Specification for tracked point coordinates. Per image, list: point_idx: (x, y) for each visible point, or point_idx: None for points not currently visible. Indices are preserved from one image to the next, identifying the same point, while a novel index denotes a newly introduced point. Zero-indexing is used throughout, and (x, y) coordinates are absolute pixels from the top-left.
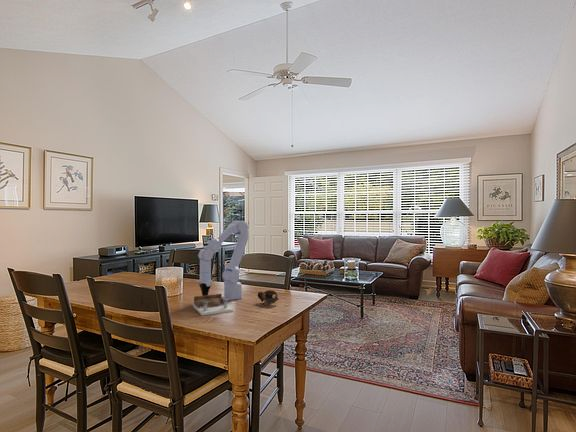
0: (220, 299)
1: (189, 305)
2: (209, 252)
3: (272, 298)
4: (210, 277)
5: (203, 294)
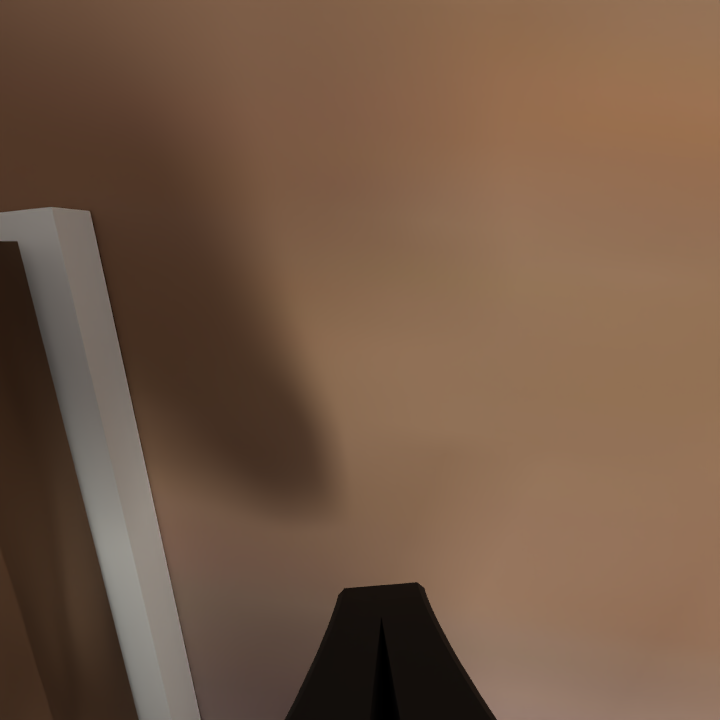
0: None
1: (212, 132)
2: None
3: None
4: None
5: (316, 683)
